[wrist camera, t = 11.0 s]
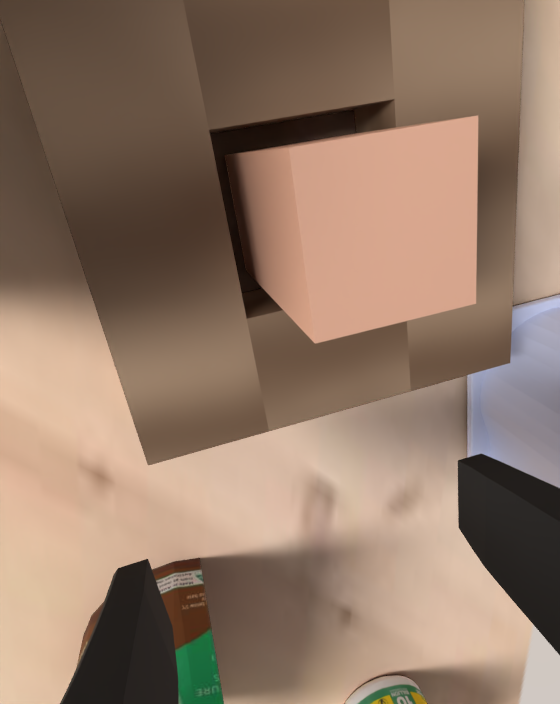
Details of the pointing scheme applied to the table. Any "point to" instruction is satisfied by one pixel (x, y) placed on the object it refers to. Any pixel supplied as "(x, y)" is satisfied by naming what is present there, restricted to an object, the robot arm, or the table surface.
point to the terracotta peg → (362, 225)
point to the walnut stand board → (207, 202)
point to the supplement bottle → (388, 692)
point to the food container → (185, 631)
